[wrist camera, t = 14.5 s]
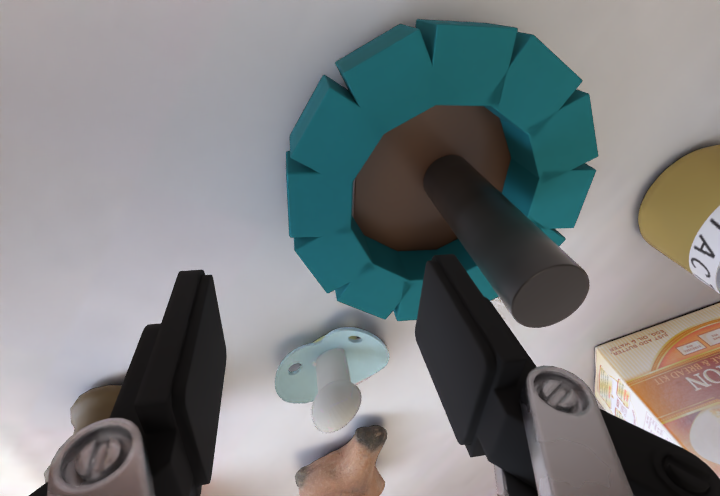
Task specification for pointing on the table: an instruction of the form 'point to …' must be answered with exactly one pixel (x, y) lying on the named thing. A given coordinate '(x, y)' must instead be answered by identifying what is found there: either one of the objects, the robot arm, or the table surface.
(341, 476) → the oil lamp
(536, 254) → the peg stand
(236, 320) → the table surface
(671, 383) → the coffeecake box
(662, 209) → the patterned cylinder
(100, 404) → the kendama
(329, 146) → the ring
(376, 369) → the pacifier
